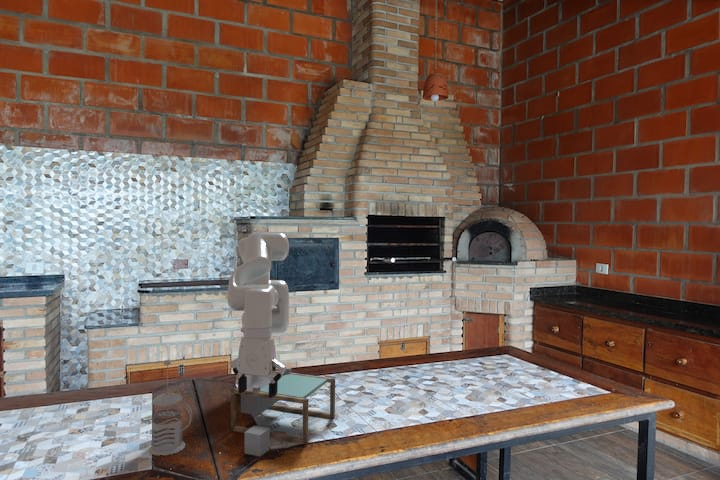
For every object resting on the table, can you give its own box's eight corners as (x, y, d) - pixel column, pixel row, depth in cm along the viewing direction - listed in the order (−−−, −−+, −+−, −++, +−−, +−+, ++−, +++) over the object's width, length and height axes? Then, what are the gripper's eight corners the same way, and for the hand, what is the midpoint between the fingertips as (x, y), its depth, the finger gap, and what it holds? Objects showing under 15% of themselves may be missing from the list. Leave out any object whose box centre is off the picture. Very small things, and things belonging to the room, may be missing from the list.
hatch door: (239, 413, 147) (239, 388, 147) (269, 393, 164) (270, 371, 164) (302, 423, 140) (302, 397, 140) (327, 402, 157) (327, 379, 156)
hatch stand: (230, 430, 146) (230, 384, 146) (267, 406, 167) (267, 365, 166) (306, 444, 138) (306, 395, 137) (334, 417, 158) (335, 373, 157)
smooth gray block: (244, 453, 132) (244, 432, 132) (254, 445, 137) (254, 425, 137) (260, 456, 130) (260, 435, 130) (269, 448, 135) (269, 427, 135)
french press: (155, 439, 140) (155, 355, 139) (195, 438, 141) (196, 354, 140) (142, 456, 130) (142, 365, 129) (186, 454, 131) (186, 364, 130)
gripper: (223, 333, 132) (223, 394, 132) (278, 338, 126) (278, 402, 126) (239, 328, 139) (238, 386, 139) (292, 332, 133) (291, 393, 133)
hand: (257, 394), depth 133 cm, fingers open, 9 cm apart
